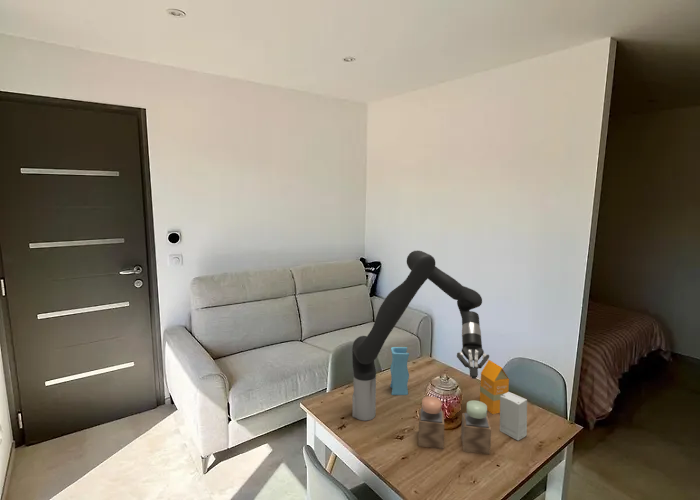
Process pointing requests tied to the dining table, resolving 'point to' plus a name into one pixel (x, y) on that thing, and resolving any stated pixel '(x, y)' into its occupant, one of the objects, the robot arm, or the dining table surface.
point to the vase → (399, 371)
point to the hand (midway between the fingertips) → (474, 377)
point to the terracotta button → (431, 405)
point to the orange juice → (493, 386)
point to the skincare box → (513, 415)
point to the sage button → (476, 409)
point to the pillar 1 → (431, 429)
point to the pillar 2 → (475, 434)
